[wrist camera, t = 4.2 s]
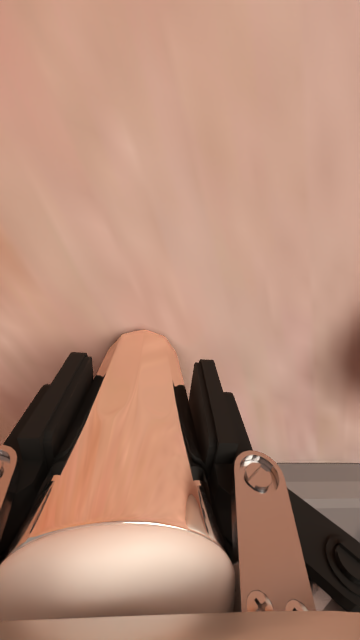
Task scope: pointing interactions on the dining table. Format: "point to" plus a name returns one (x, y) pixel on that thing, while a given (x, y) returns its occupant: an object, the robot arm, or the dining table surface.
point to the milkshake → (123, 505)
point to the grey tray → (328, 491)
